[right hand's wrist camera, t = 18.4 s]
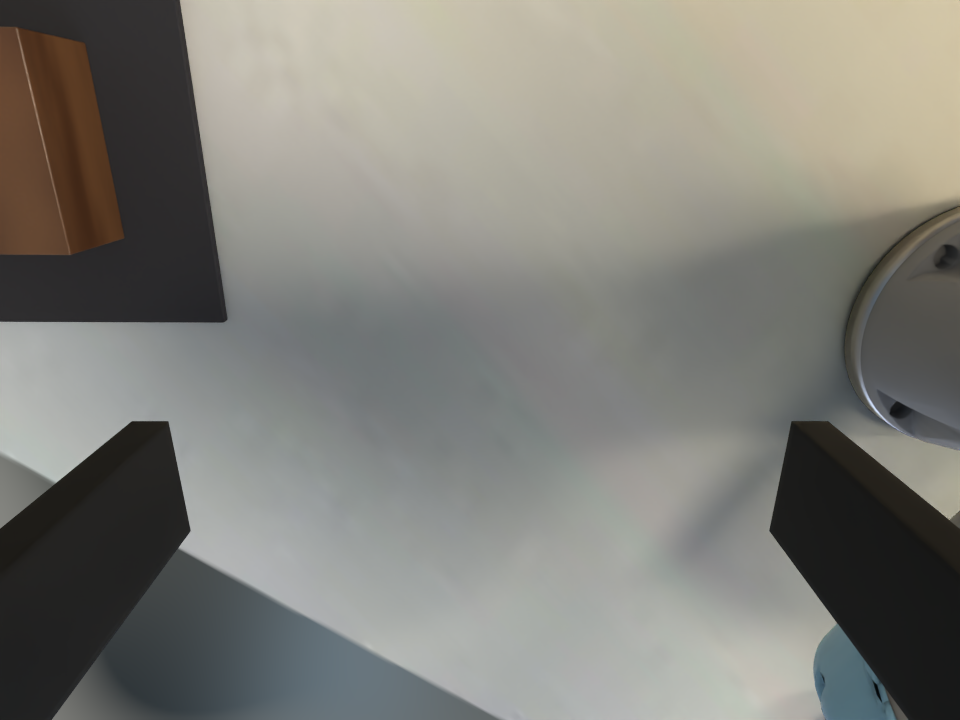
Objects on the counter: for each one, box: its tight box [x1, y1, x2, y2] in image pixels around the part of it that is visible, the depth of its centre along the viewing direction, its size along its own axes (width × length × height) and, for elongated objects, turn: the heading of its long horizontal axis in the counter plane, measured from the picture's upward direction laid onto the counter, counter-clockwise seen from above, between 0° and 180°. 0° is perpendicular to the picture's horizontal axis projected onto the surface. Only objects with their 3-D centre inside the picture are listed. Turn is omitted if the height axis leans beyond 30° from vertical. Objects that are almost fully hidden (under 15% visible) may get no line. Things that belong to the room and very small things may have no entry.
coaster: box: [0, 0, 227, 322], centre depth 33 cm, size 20×20×1 cm
